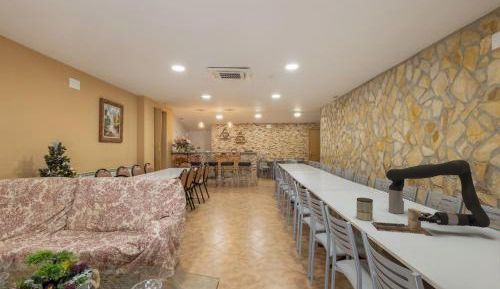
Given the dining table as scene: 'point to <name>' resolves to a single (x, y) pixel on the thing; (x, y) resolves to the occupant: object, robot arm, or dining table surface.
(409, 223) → the birch block
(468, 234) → the dining table surface
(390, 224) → the board
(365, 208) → the coffee can
